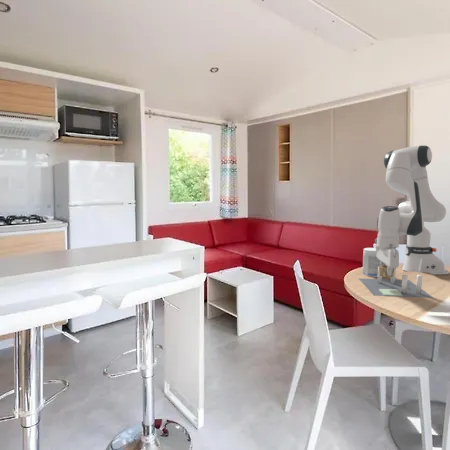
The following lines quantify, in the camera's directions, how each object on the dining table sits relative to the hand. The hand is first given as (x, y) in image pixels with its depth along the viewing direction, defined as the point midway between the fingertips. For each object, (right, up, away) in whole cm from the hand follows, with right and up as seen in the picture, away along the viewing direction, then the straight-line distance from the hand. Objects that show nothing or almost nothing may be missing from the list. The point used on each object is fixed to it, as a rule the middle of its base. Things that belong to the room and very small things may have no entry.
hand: (386, 272), depth 153 cm
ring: (0, -1, 0) cm, 1 cm away
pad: (0, -8, -5) cm, 10 cm away
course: (+5, -8, +4) cm, 10 cm away
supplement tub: (+5, -6, +26) cm, 27 cm away
